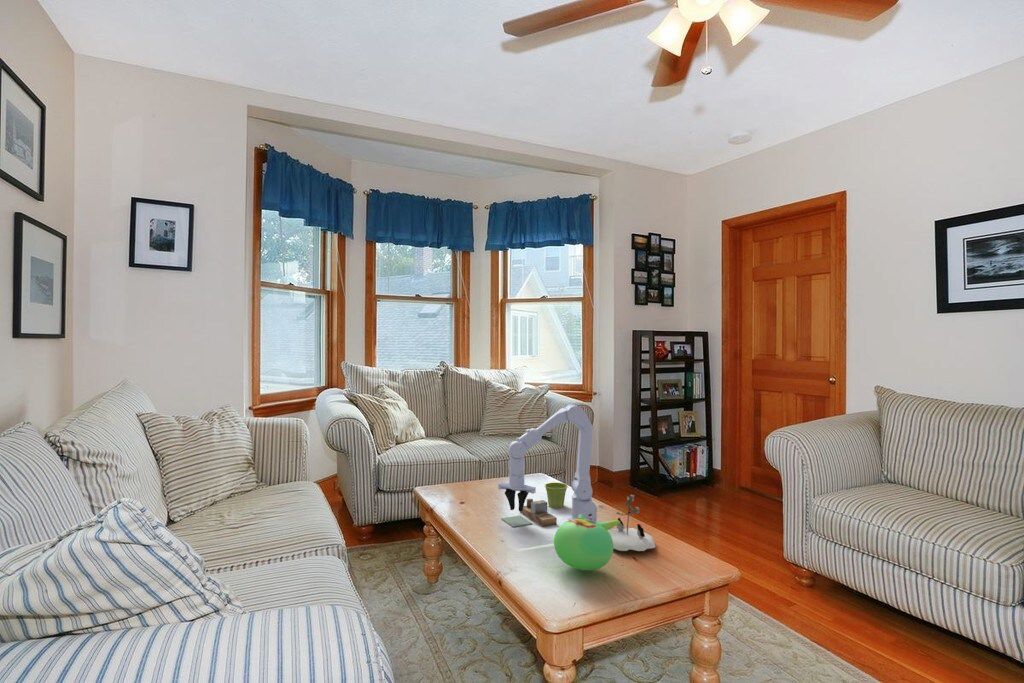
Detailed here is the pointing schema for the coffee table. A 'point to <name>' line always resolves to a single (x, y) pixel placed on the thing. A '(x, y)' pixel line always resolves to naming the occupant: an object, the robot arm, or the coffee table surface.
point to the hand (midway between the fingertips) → (516, 510)
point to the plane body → (538, 516)
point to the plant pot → (556, 494)
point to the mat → (516, 521)
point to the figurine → (630, 534)
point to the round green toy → (584, 543)
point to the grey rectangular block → (539, 507)
